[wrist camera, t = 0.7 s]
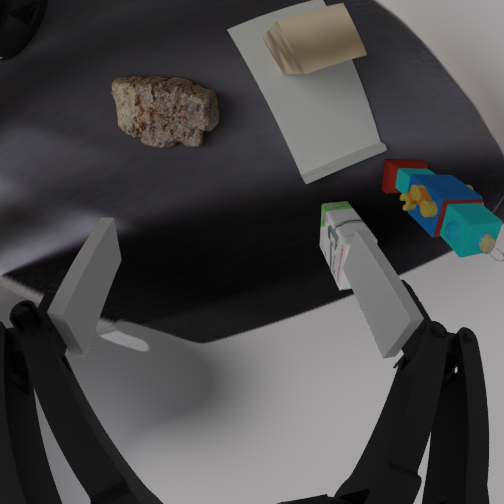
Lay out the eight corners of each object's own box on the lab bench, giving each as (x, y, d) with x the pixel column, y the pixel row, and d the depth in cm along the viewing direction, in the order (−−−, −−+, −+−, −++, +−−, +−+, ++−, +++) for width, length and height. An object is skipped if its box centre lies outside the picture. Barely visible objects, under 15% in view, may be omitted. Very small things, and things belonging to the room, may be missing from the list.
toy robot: (372, 189, 43) (462, 292, 23) (376, 155, 39) (483, 245, 19) (424, 187, 43) (515, 275, 23) (429, 157, 40) (532, 235, 19)
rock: (225, 83, 32) (225, 84, 28) (212, 152, 38) (210, 164, 33) (119, 75, 29) (103, 76, 25) (112, 142, 35) (97, 153, 31)
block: (261, 37, 28) (277, 20, 18) (309, 21, 27) (343, 2, 17) (281, 74, 31) (305, 74, 22) (327, 57, 30) (367, 54, 20)
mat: (227, 30, 27) (227, 27, 26) (321, -2, 25) (325, -5, 23) (302, 179, 41) (306, 184, 40) (380, 146, 38) (386, 150, 37)
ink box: (320, 202, 44) (346, 244, 34) (348, 200, 44) (379, 240, 35) (318, 246, 49) (339, 292, 40) (344, 242, 49) (368, 287, 40)
